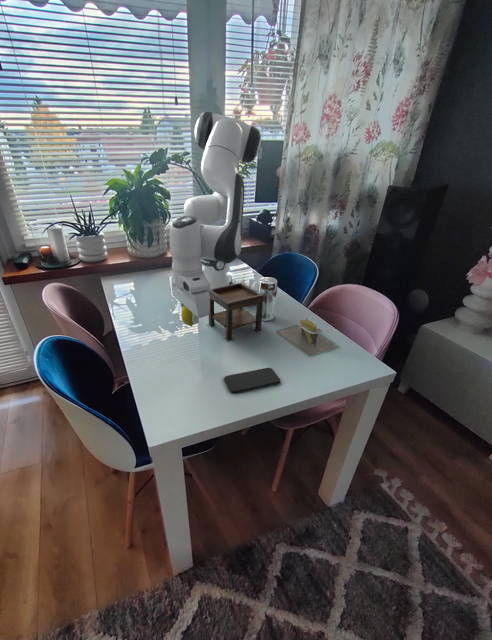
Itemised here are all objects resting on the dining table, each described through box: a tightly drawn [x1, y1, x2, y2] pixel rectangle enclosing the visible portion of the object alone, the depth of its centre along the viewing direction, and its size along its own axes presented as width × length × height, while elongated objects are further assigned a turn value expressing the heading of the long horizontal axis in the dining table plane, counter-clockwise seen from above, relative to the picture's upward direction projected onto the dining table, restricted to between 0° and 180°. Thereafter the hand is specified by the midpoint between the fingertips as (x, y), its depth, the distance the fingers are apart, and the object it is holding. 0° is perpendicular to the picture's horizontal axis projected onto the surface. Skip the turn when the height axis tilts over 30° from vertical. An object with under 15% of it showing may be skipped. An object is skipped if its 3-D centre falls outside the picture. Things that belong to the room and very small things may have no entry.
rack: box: [208, 282, 263, 342], centre depth 116 cm, size 14×14×14 cm
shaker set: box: [238, 279, 259, 292], centre depth 134 cm, size 12×4×11 cm, turn 114°
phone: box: [223, 367, 281, 394], centre depth 93 cm, size 7×1×15 cm
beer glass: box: [258, 276, 278, 322], centre depth 123 cm, size 7×7×15 cm
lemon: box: [180, 306, 195, 327], centre depth 103 cm, size 6×6×8 cm
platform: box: [277, 318, 338, 357], centre depth 111 cm, size 12×18×7 cm, turn 27°
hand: (190, 318), depth 104 cm, fingers closed on lemon, 5 cm apart
